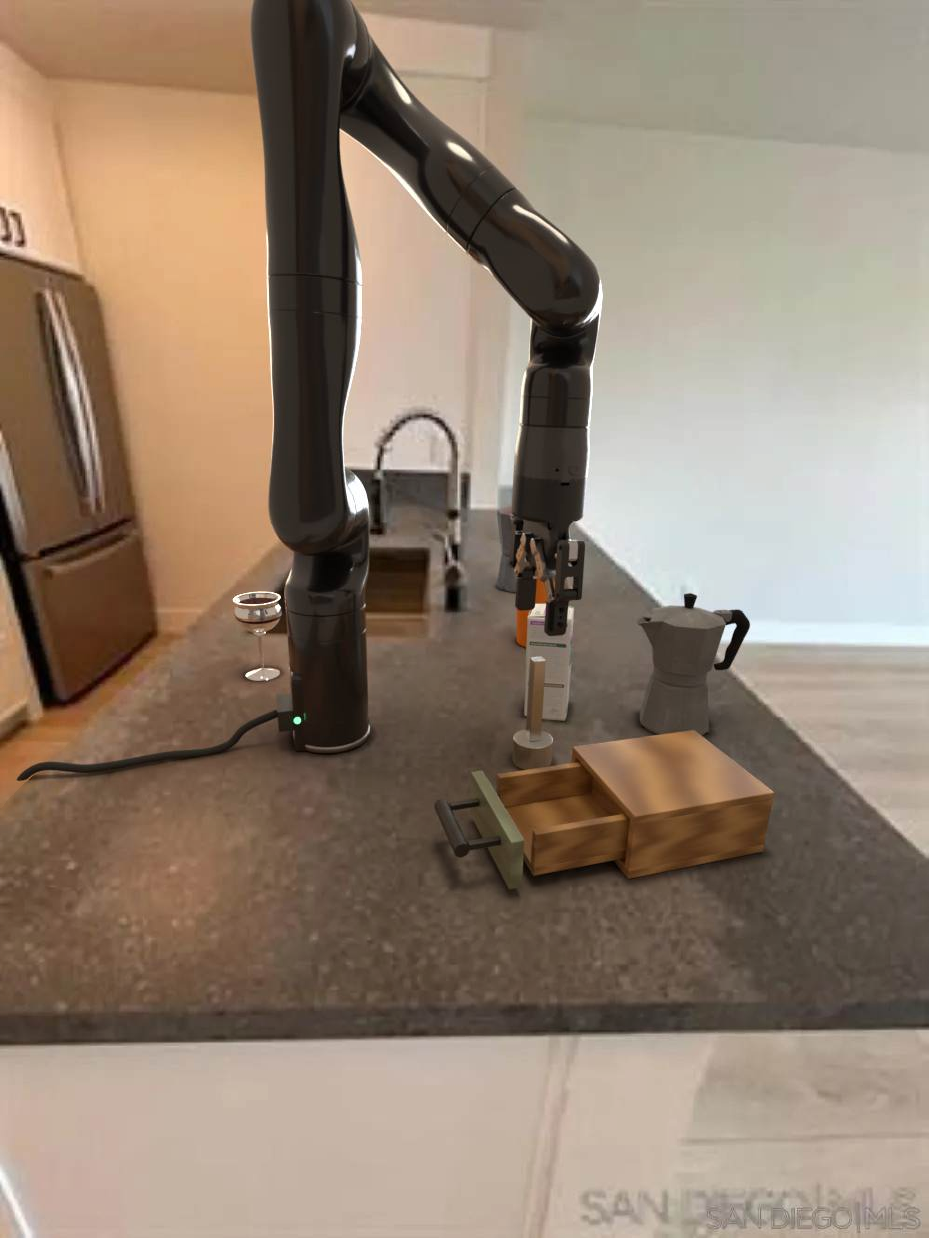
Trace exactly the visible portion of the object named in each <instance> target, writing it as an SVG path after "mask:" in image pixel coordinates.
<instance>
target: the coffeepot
mask: <svg viewBox="0 0 929 1238" xmlns="http://www.w3.org/2000/svg"><path fill="white" fill-rule="evenodd" d="M697 599H698V595H697V594H694V593H691V592H688V593H684V594H683V604H684V605H672V604H671V605H665V606H661V607H656V608H652V609H650V614H645V615H642V617H639V618H638V619H637V621H636V624H637V625H638V626H640V627H641V628H642V630H643V631H644V633H645V635H646V637H647V639H648V641H649V642H650V645H651V652H652V653H651V655H652V656H651V657H652V664H653V670H652V673H651V674H650V676H649V680H648V683H647V687H646V690H645V693H644V697H643V700H642V703H641V706H640V709H639V721H640V725H641V726H643V727H644V728H645V729H646V730H648V731H649V732H651V733H653V734H655V735H661V734H669V733H676V732H683V731H690V730H694V731H696V732H697V733H698V734H700V735H701V736H702V737H704V735H705V734H706V733H709V732H710V717H709V716H710V715H709V689H708V688H709V687H708V681H707V679H708V673H709V672H711V671H712V669H713V668H714V670H715V671H725V670H729V669H730V668H731V666H732V664H733V662H734V660H735V658H736V657H737V655H738V652H739V651H740V648H741V645H742V644H743V642H744V640H745V638H746V636H747V634H748V633H749V630H750V627H751V623H750V619H748V616H746V614H745V613H744V611H743V610H741V609H739V608H737V609H716V610H714V611H710V610H707V609H704V608H702V607H701V608H700V607H698V606H695V604H696V601H697ZM734 624H735V628H734V630H733V633H732V635H731V639H730V642H729V644H728V645H727V647H726V649H725V652H724V658H723V660H722V661H721V662H717V663H714V662H715V659H716V656H717V653H718V651H719V648H720V644H721V641H722V638H723V636H724V632H725V629H726V626H729V625H734Z"/></svg>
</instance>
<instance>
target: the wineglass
mask: <svg viewBox="0 0 929 1238" xmlns="http://www.w3.org/2000/svg"><path fill="white" fill-rule="evenodd" d="M280 599H281V595H280V594H278V593H275V592H271V591H253V592H252V591H251V592H246V593H242V594H239V595H236V596H234V598H232V601H233V603H234V605H235V606H234V608H233V616H234V619H235V622H236V624H237V625H238V626H240V627H241V628H243V629H244V630H245V631H247V632H250V633H253V634H254V635H255V636H256V638H257V645H258V653H259V661H260V667H258V668H254V669H251V670H249V671H248V672H247V673H246V674H245V677H246V678H247V679H248V680H251V681H255V682H256V681H258V682H262V681H269V680H273V679H275V678H277V677H279V676H280V675H281V672H280V670H279V669H277V668H275V667H265V662H264V659H265V658H264V635H265V634H266V632H268V631H270V630H272V629H273V628H274V627H276V625H278V623H279V622H280V621H281V618H282V616H283V610H282V606H281V604H280V603H279V601H280Z"/></svg>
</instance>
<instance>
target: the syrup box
mask: <svg viewBox="0 0 929 1238" xmlns="http://www.w3.org/2000/svg"><path fill="white" fill-rule="evenodd" d="M545 612H546V604H535V607H534V609H532V610H530V612H529V615H528V621H527V646H526V647H525V650H526V651H525V673H524V674H525V676H524V701H523V702H524V703H523V705H524V706H523V715H524V716H525V717H527V703H528V685H529V667H530V657H542V658H543V659H544V660H545V661H546V666H545V682H544V698H543V713H542V720H549V721H550V720H551V721H561V722H565V721H566V720H567V719H566V718H567V715H568V709H569V701H570V686H571V685H570V684H571V672H572V671H571V670H572V657H573V656H572V655H573V636H574V635H573V633H574V613H575V608H574V606H572V605H568V616H567V627H566V633H565V634H564V635H561V636H548V635H547V634H546V633H545V632H544V624H545Z"/></svg>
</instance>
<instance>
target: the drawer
mask: <svg viewBox="0 0 929 1238" xmlns="http://www.w3.org/2000/svg"><path fill="white" fill-rule="evenodd" d="M469 795H470V796H469V797H470V798H469V799H463V800H462V799H461V800H457V801H448V800H447V799H446V798H439V799H438V800H436V801H435V802H434V805H433V807H434V810H435V812H436V815H437V817H438V819H439V822H440V825H441V827H442V829H443V831H444V833H445V837H446V838H447V840H448V843H449V845H450V847H451V850H452V852H453V854H454V856H456V857H457V858H465V857H466V856H467V855H468V854H469V853H470V851H474V850H475V851H476V850H479V849H480V850H481V849H485V848H487V849H488V851H489V853H490V855H491V857H492V860H493V861H494V864H495V865H496V867H497V869H498V871H499V874H500V875H501V876H502V879H503V880H504V882H505V885H506V886H507V889H508V890H513V889H518V888H522V887H523V872H524V862H525V864H526V866H527V868H528V869H529V871H530V873H531V875H532V876H533V877H535V876H538V875H544V874H549V873H555V872H560V871H566V870H571V869H575V868H580V867H586V866H592V865H596V864H601V863H606V862H611V861H614V860H618V859H623V858H626V850H627V841H628V833H629V824H630V818H629V817H628V816H627V815H626V814H625V813H624V812H623V810H622V809H621V808H620V807H619V806H618V805H617V804H616V802H615V801H614V800H613V799H612V798H611V797H610V796H609V794H608V793H607V792H606V791H605V790H604V789H603V788H602V786H601V785H600V784H599V783H598V782H597V781H596V780H595V778H594V777H593V776H592V775H591V774H590V773H589V772H588V770H587V769H586V768H585V767H584V766H583V765H582V764H581V762H577V763H564V764H558V765H550V766H549V767H543V768H536V769H529V770H524V769H521V770H516V771H509V772H501V773H497V777H496V790H495V789H494V787H493V786H492V784H491V782H490V781H489V778H488V777H487V775H486V774H485V772H484V771H483V770H475V771H474V770H473V771H471V772H470V794H469ZM464 809H469V815H470V816H471V818H472V820H473V822H474V823H475V826H476V828H477V830H478V832H479V834H480V835H481V838H478V839H472V840H468V841H467V839H466V837H465V834H464V833H463V831H462V828H461V826H460V825H459V822H458V820H457V818H456V816H455V813H454V812H453V811H459V810H464Z"/></svg>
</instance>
